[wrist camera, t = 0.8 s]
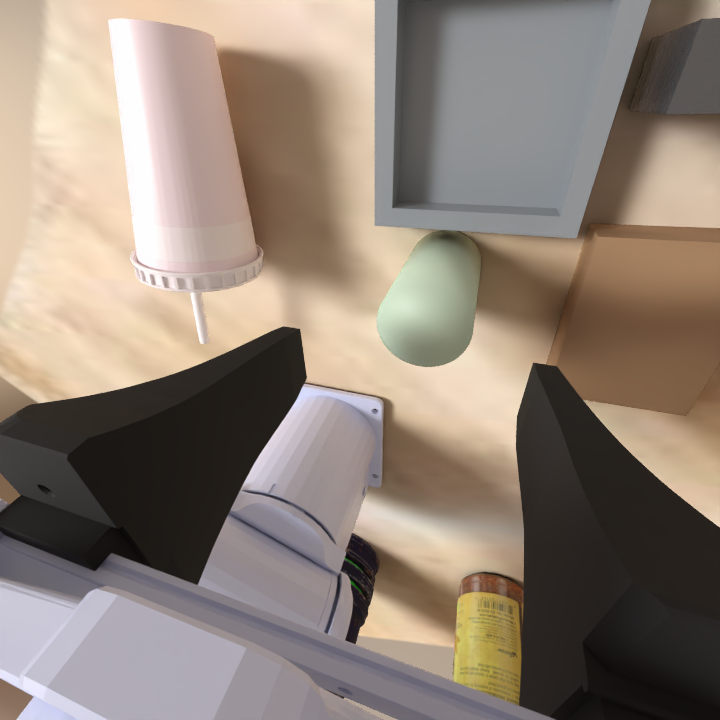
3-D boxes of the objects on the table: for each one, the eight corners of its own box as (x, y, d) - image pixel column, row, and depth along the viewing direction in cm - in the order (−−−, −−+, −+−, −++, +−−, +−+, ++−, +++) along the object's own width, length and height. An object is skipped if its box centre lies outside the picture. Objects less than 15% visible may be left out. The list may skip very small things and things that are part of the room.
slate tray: (570, 226, 16) (576, 238, 15) (384, 215, 18) (374, 225, 17) (653, -55, 11) (674, -76, 10) (388, -23, 14) (374, -37, 12)
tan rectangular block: (668, 384, 19) (686, 415, 17) (543, 367, 21) (547, 393, 19) (757, 227, 15) (794, 246, 13) (587, 220, 16) (598, 236, 14)
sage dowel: (475, 301, 19) (465, 373, 14) (408, 294, 20) (376, 359, 15) (487, 232, 17) (480, 287, 12) (411, 227, 18) (376, 277, 13)
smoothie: (58, -4, 11) (163, 382, 18) (271, 36, 14) (285, 353, 21) (65, 24, 15) (148, 326, 23) (225, 49, 18) (250, 308, 26)
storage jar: (394, 552, 36) (342, 766, 25) (365, 586, 42) (313, 769, 31) (303, 508, 37) (211, 697, 25) (287, 547, 43) (208, 713, 31)
